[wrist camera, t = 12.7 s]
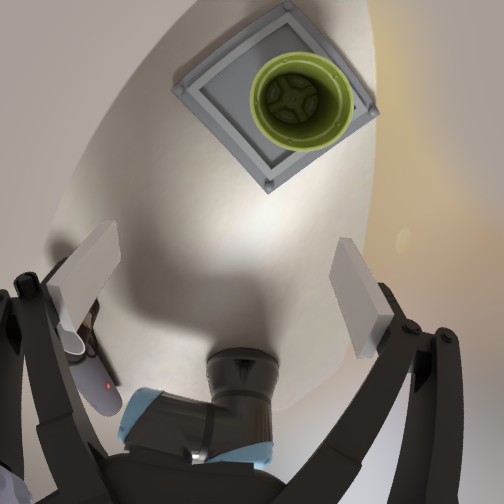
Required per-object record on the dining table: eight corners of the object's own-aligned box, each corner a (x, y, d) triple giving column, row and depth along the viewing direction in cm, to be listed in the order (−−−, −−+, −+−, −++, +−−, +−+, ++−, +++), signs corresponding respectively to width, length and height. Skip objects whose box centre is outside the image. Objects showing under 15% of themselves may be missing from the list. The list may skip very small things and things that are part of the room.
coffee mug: (63, 281, 47) (38, 316, 38) (99, 287, 47) (76, 326, 38) (77, 323, 53) (59, 357, 44) (111, 331, 53) (95, 368, 45)
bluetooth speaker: (128, 391, 67) (120, 421, 58) (100, 385, 67) (90, 414, 58) (99, 336, 55) (83, 372, 46) (67, 331, 55) (50, 363, 46)
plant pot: (242, 126, 32) (238, 138, 24) (260, 52, 27) (263, 40, 19) (318, 145, 33) (337, 163, 25) (339, 74, 28) (365, 71, 20)
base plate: (376, 112, 31) (383, 114, 29) (267, 190, 38) (268, 196, 36) (287, 2, 24) (289, -3, 22) (173, 90, 30) (168, 90, 28)
